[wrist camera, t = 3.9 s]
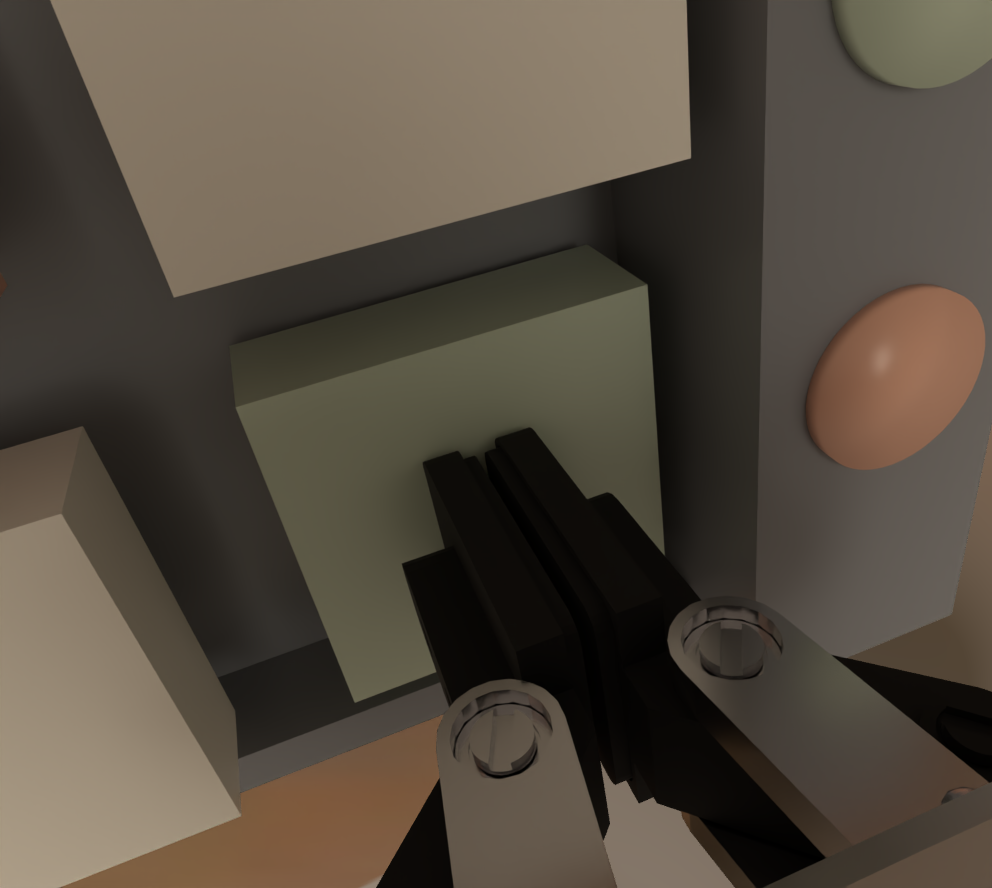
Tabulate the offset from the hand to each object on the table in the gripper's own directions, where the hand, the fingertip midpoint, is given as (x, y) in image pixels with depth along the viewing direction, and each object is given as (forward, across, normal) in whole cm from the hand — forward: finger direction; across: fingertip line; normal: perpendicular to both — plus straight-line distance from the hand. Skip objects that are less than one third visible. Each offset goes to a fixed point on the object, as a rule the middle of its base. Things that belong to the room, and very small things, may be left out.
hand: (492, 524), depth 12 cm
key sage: (+2, 0, 0) cm, 2 cm away
